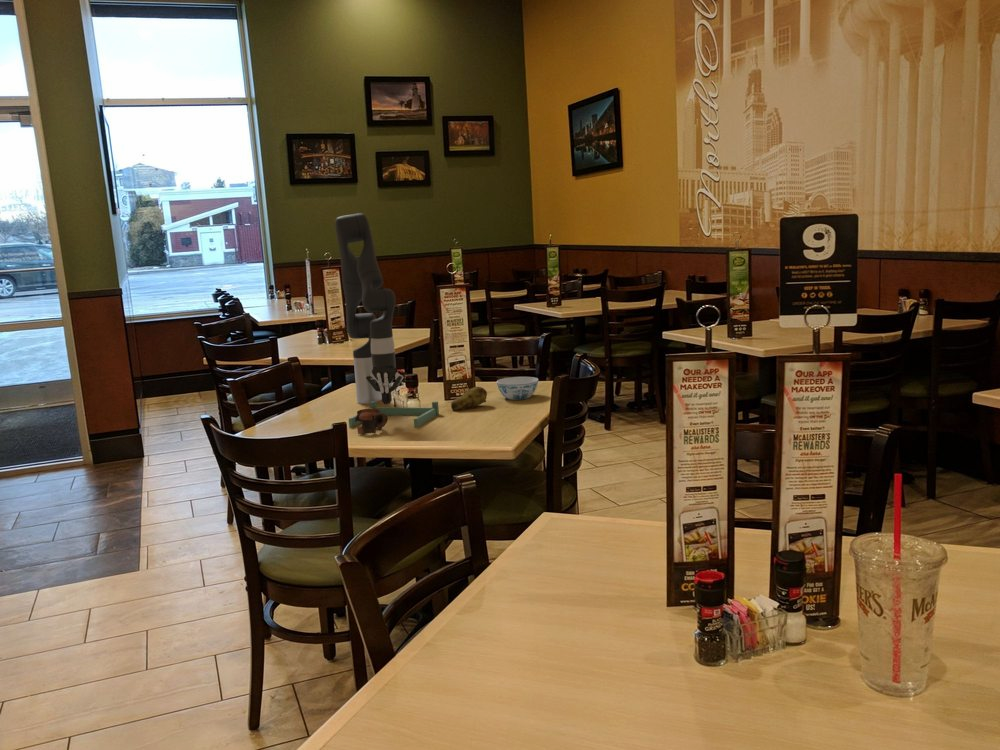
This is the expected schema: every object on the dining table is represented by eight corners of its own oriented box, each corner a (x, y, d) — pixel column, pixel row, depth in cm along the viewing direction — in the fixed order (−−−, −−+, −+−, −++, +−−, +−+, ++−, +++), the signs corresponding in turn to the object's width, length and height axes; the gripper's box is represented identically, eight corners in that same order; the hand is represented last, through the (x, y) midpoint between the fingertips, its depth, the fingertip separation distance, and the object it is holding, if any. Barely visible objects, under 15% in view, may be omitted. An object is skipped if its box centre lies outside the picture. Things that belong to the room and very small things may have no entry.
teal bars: (372, 415, 290) (371, 401, 289) (439, 416, 282) (438, 401, 281) (348, 427, 272) (347, 412, 272) (418, 428, 265) (417, 412, 264)
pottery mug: (348, 435, 261) (348, 410, 263) (365, 442, 269) (365, 417, 272) (381, 428, 256) (380, 403, 259) (397, 435, 264) (396, 410, 267)
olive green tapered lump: (450, 409, 292) (448, 387, 291) (486, 406, 294) (485, 384, 293) (452, 414, 284) (450, 391, 283) (489, 411, 286) (488, 388, 284)
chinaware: (543, 397, 306) (542, 376, 304) (534, 405, 291) (533, 383, 290) (503, 397, 309) (502, 377, 308) (493, 405, 295) (491, 384, 294)
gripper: (406, 349, 270) (410, 401, 273) (369, 349, 274) (373, 401, 277) (397, 353, 263) (401, 406, 266) (359, 353, 267) (363, 406, 270)
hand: (387, 403), depth 272 cm, fingers closed
